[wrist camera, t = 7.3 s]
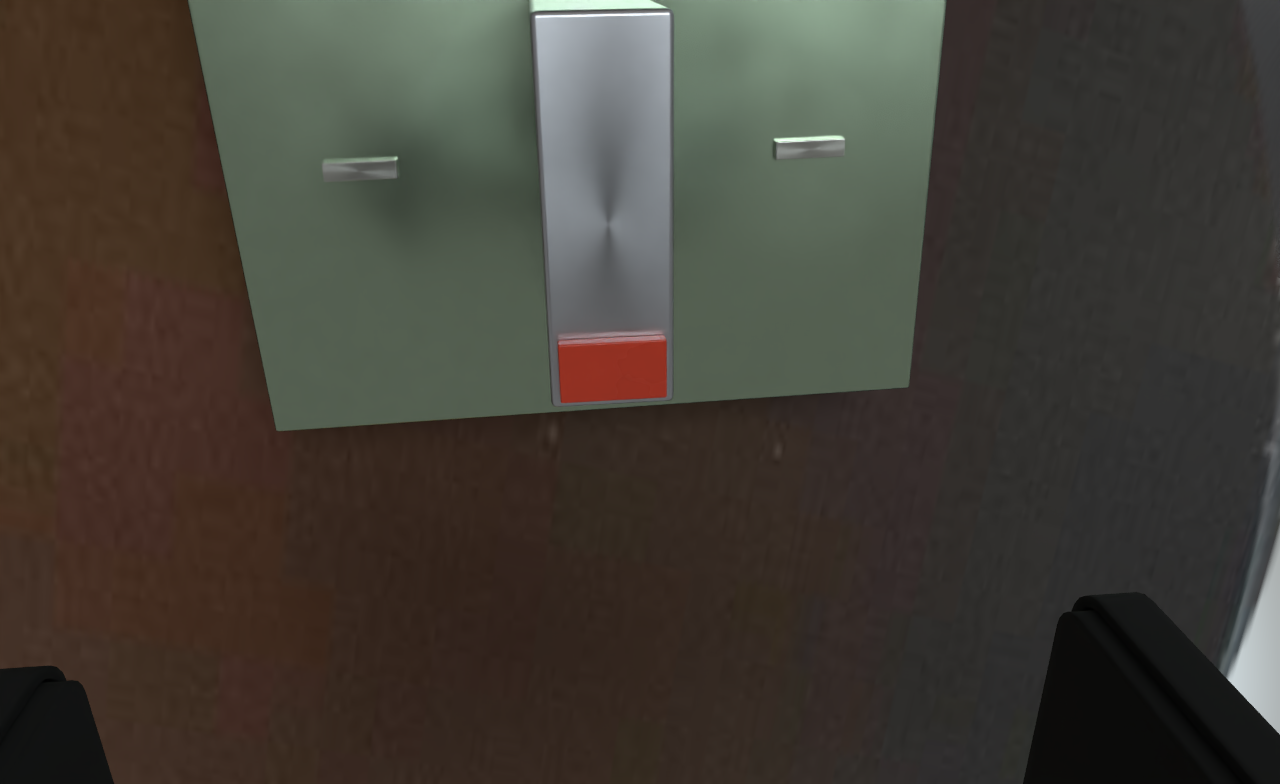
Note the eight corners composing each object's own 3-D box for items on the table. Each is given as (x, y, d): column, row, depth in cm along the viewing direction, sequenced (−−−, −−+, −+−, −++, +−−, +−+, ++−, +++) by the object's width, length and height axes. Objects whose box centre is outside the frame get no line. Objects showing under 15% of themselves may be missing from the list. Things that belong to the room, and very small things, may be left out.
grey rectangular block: (528, -6, 18) (528, 12, 13) (637, -8, 18) (676, 9, 13) (546, 306, 20) (551, 415, 15) (641, 301, 20) (676, 408, 16)
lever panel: (905, -155, 20) (968, -172, 17) (868, 340, 25) (912, 391, 22) (207, -139, 19) (150, -155, 16) (304, 377, 24) (273, 436, 21)
